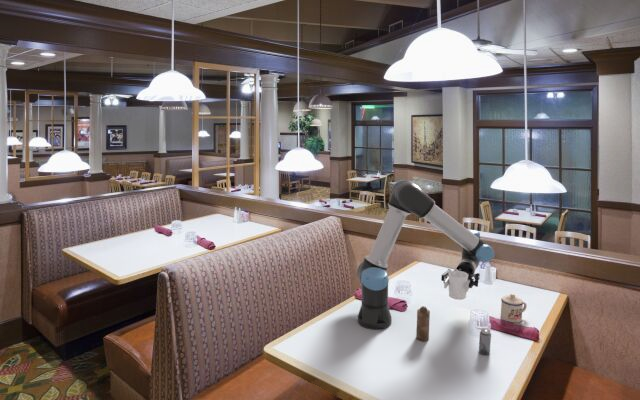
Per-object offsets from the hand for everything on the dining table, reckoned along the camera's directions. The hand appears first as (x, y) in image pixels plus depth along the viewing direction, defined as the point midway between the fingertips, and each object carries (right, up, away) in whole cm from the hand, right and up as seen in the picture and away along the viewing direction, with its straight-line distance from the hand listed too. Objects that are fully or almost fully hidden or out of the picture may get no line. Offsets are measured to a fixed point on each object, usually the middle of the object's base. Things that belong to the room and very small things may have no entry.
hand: (455, 286), depth 170 cm
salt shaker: (+8, -24, -8) cm, 26 cm away
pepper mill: (-13, -22, +3) cm, 25 cm away
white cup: (+2, -5, +5) cm, 8 cm away
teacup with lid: (+32, -18, +19) cm, 42 cm away
